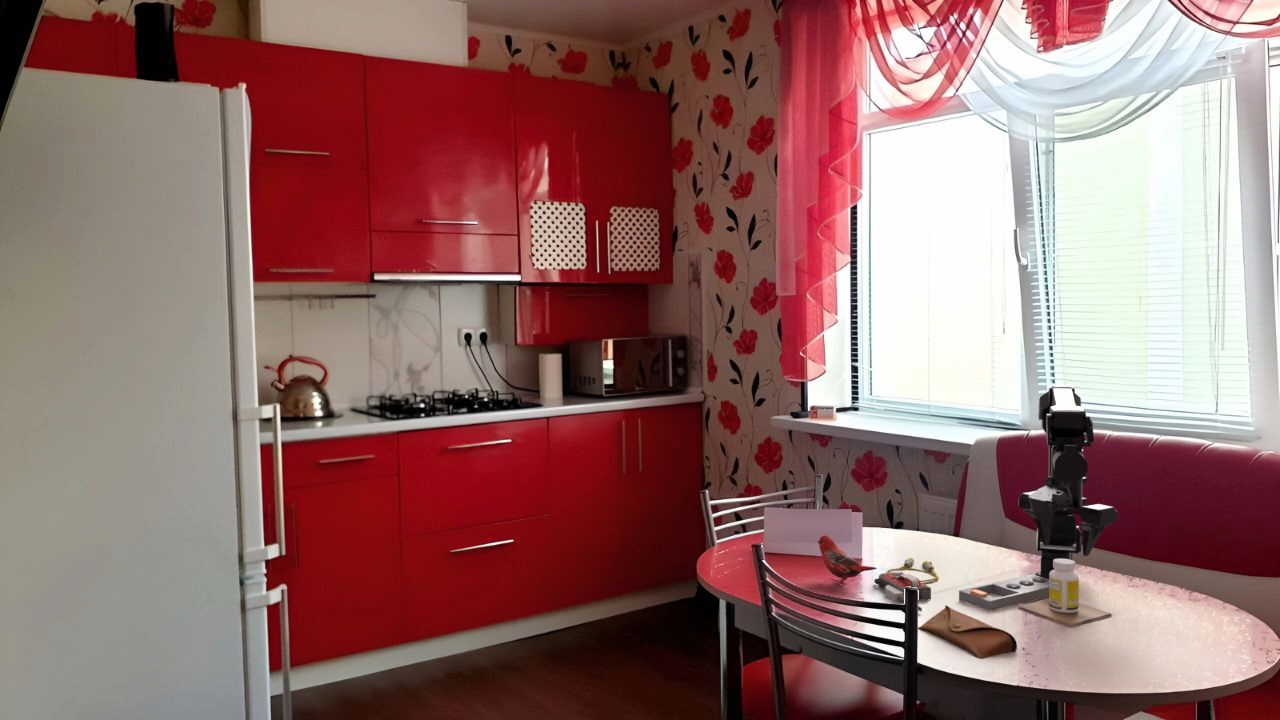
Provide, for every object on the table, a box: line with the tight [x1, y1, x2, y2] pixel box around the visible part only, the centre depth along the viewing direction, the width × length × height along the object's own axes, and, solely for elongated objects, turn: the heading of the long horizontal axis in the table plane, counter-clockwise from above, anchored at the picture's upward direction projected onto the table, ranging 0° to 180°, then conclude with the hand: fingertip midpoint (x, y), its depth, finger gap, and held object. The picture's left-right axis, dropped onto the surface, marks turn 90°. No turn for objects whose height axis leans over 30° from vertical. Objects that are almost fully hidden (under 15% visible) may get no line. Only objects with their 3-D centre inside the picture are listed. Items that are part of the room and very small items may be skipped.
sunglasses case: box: [917, 605, 1018, 659], centre depth 177 cm, size 18×7×7 cm, turn 25°
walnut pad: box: [1018, 598, 1112, 628], centre depth 190 cm, size 12×12×1 cm
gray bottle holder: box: [958, 573, 1049, 612], centre depth 200 cm, size 22×8×3 cm, turn 118°
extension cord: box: [886, 557, 939, 585], centre depth 216 cm, size 12×16×2 cm
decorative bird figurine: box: [817, 534, 878, 586], centre depth 208 cm, size 3×18×10 cm, turn 33°
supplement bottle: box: [1048, 559, 1080, 613], centre depth 190 cm, size 5×5×10 cm
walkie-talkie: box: [873, 571, 932, 612], centre depth 201 cm, size 9×4×20 cm
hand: (1065, 550), depth 189 cm, fingers open, 9 cm apart
